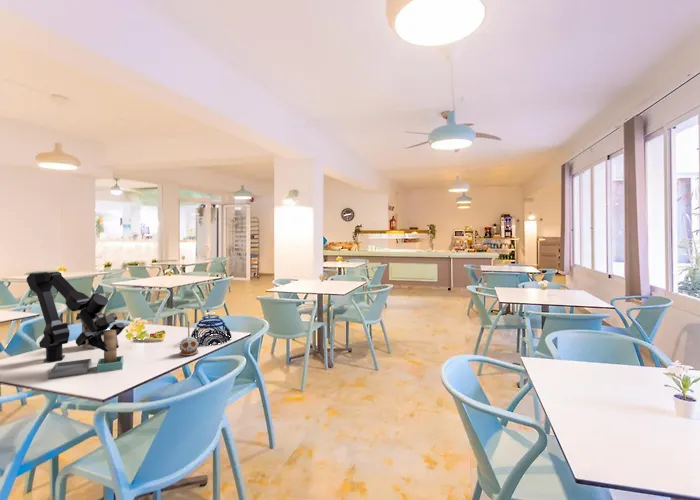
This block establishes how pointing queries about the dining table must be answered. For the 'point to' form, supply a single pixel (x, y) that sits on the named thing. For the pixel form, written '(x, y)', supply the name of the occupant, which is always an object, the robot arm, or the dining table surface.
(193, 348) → the decorative ornament
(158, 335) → the pizza slice
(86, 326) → the robot arm
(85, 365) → the tray
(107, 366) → the teal square frame
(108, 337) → the brown tall rounded cylinder
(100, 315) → the coffee box
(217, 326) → the decorative bowl
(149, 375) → the dining table surface
